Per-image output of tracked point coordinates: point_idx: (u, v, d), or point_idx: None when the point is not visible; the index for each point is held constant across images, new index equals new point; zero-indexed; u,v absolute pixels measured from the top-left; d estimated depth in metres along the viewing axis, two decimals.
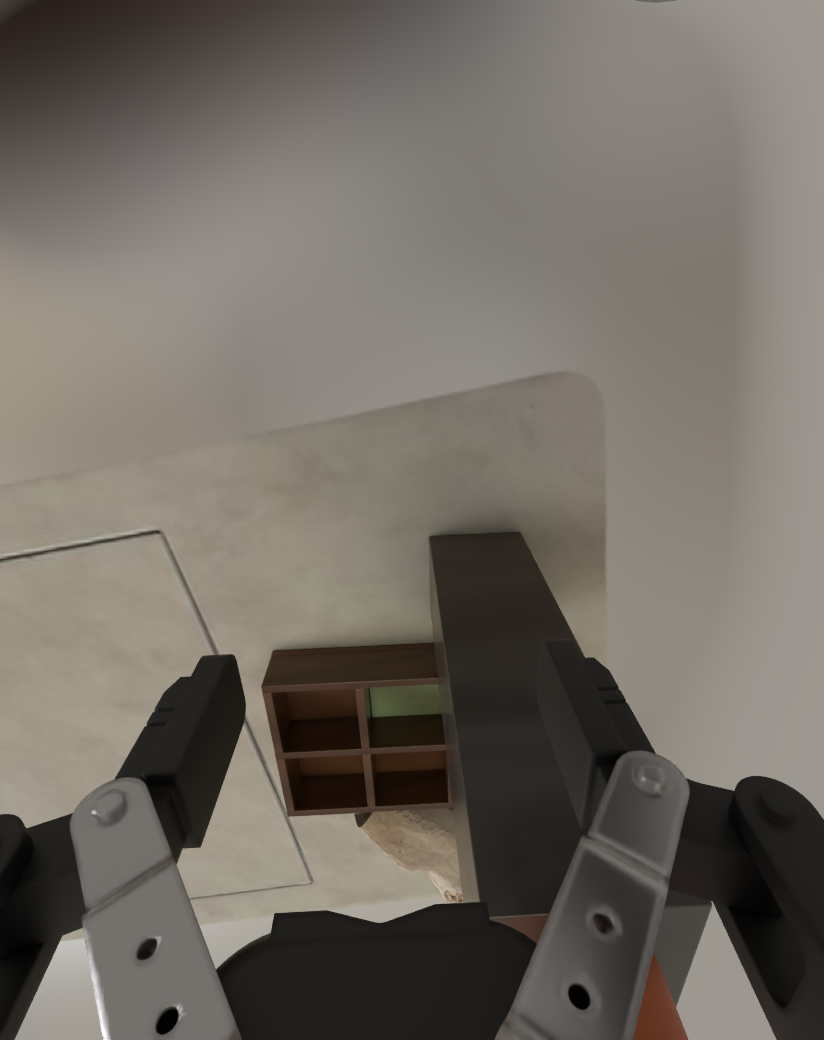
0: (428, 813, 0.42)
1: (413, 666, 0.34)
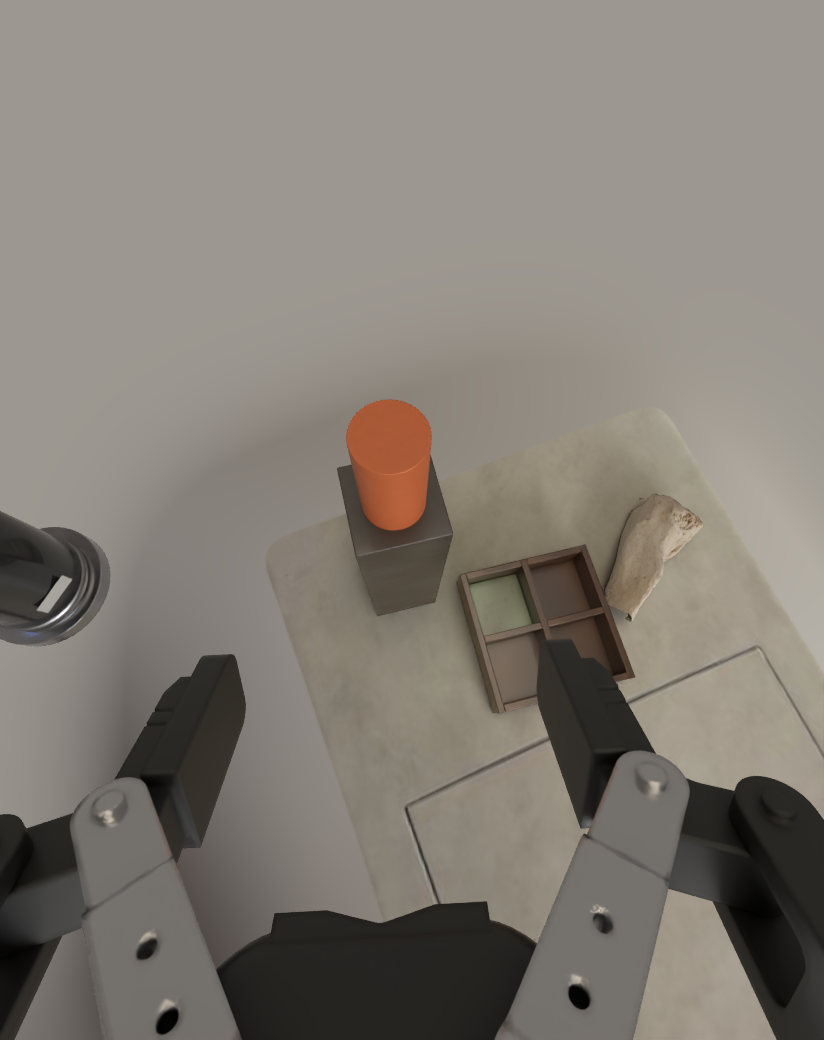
0: (615, 562, 0.51)
1: (466, 604, 0.49)
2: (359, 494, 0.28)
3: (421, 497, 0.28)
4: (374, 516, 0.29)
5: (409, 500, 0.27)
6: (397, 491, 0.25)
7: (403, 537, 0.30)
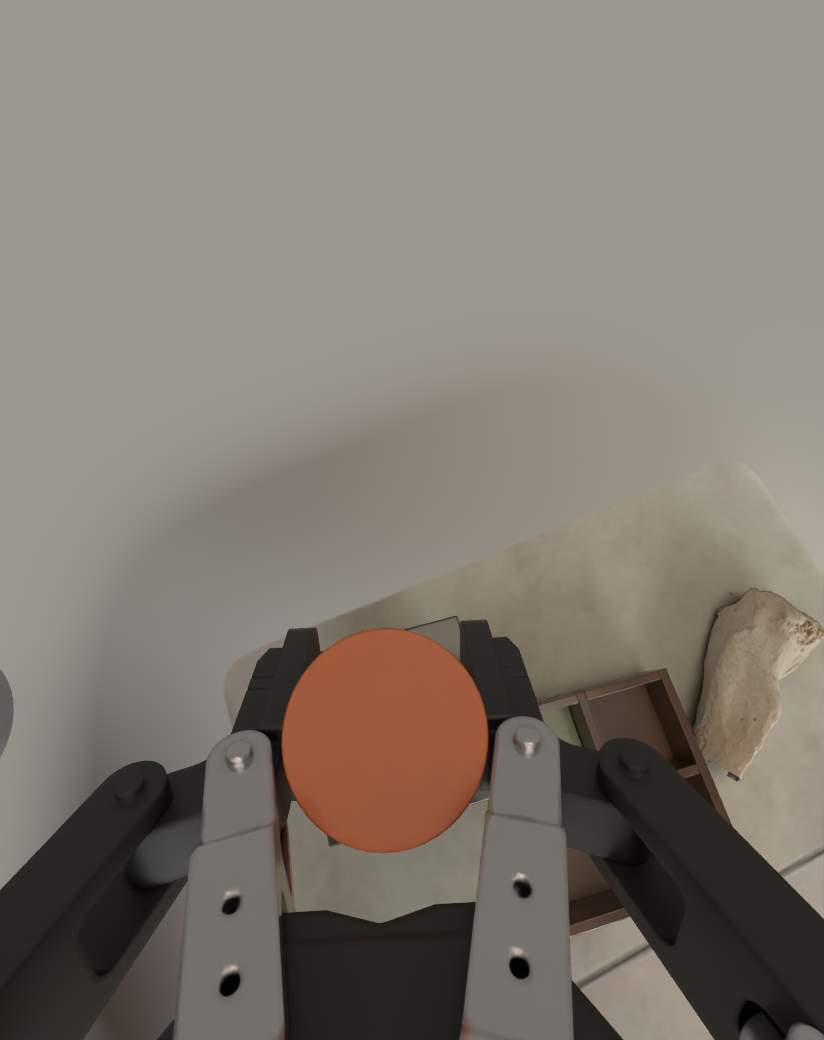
0: (705, 688, 0.37)
1: None
2: None
3: None
4: None
5: None
6: None
7: None
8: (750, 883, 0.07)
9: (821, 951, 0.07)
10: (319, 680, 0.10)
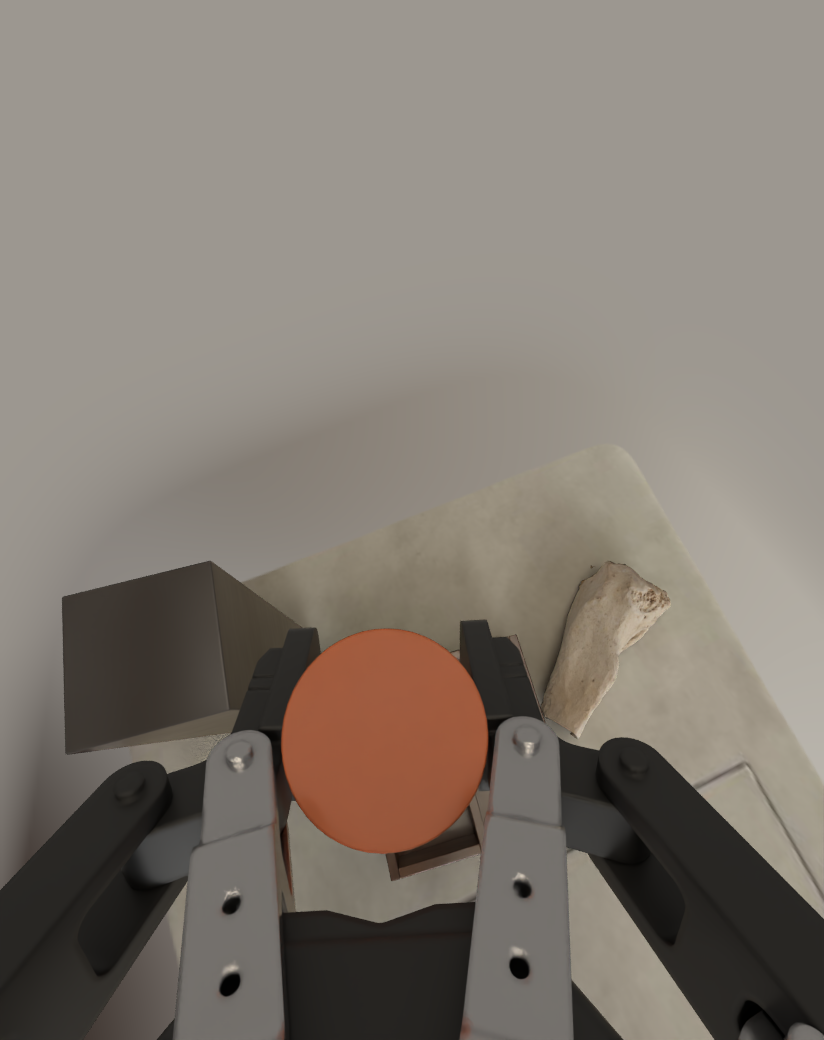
0: None
1: None
2: None
3: None
4: None
5: None
6: None
7: (148, 718, 0.19)
8: (750, 884, 0.07)
9: (821, 951, 0.07)
10: (319, 680, 0.10)
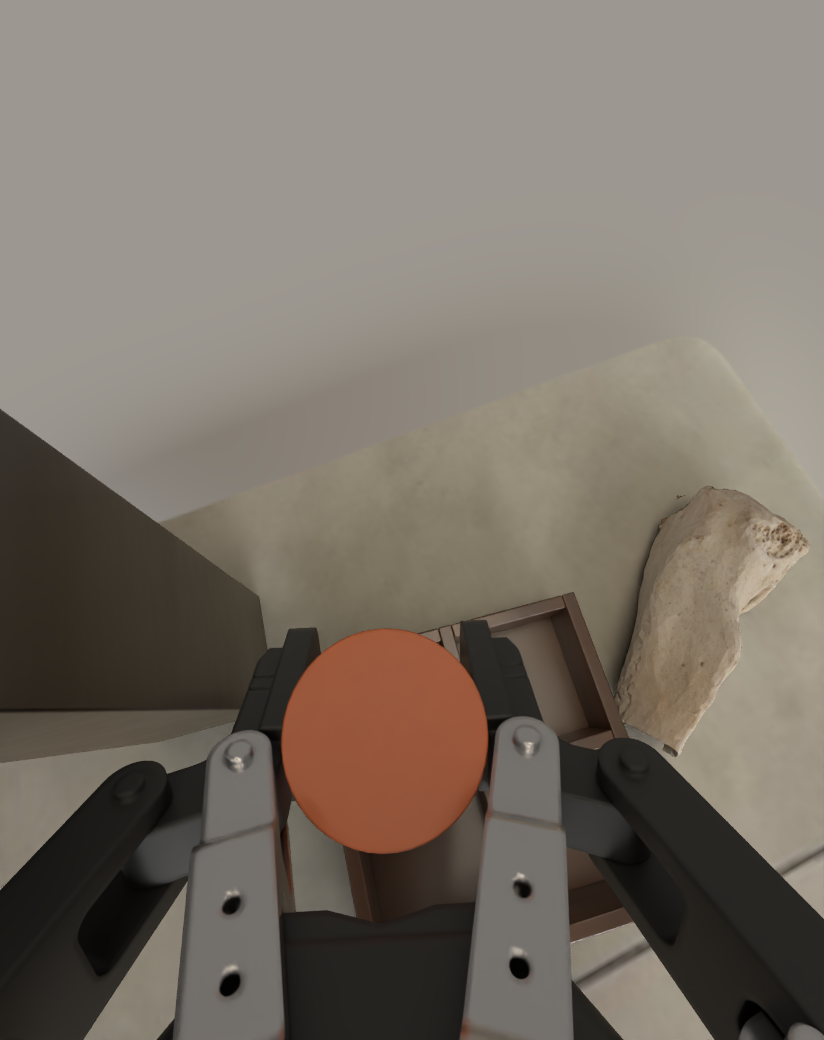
0: (636, 625, 0.25)
1: None
2: None
3: None
4: None
5: None
6: None
7: None
8: (750, 883, 0.07)
9: (821, 950, 0.07)
10: (319, 680, 0.10)
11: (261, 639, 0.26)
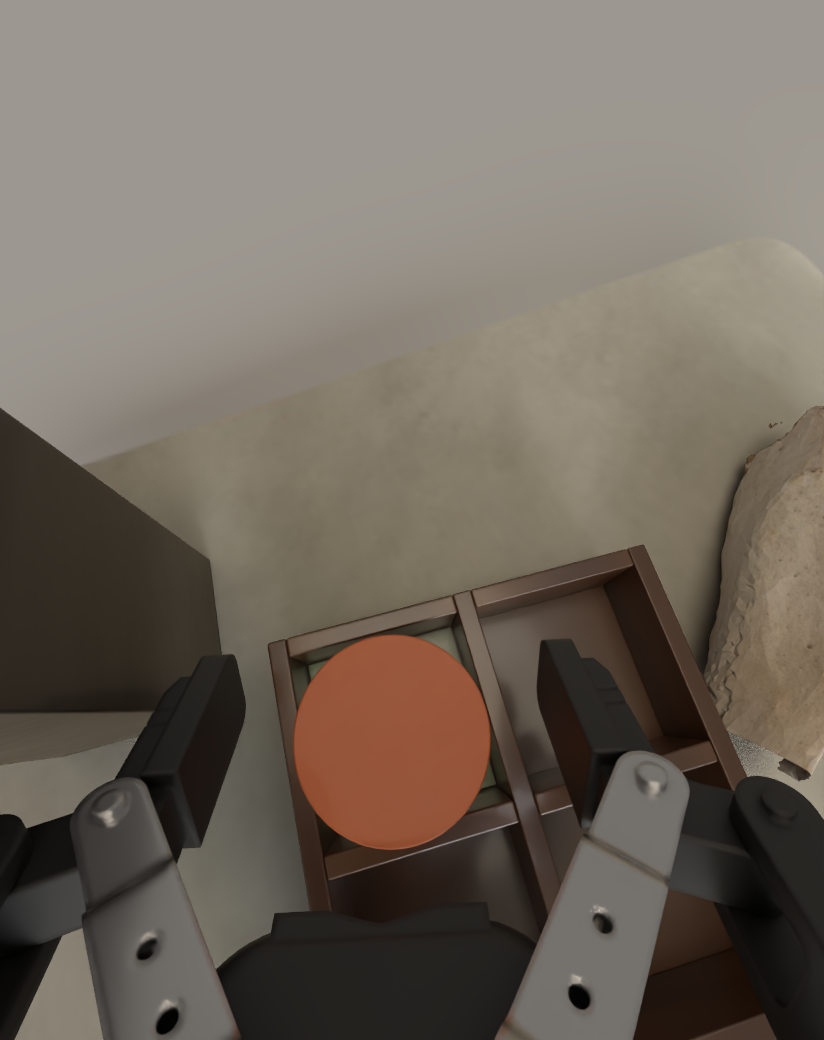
0: (727, 594, 0.18)
1: None
2: None
3: None
4: None
5: None
6: None
7: None
8: None
9: None
10: (328, 684, 0.11)
11: (208, 615, 0.19)
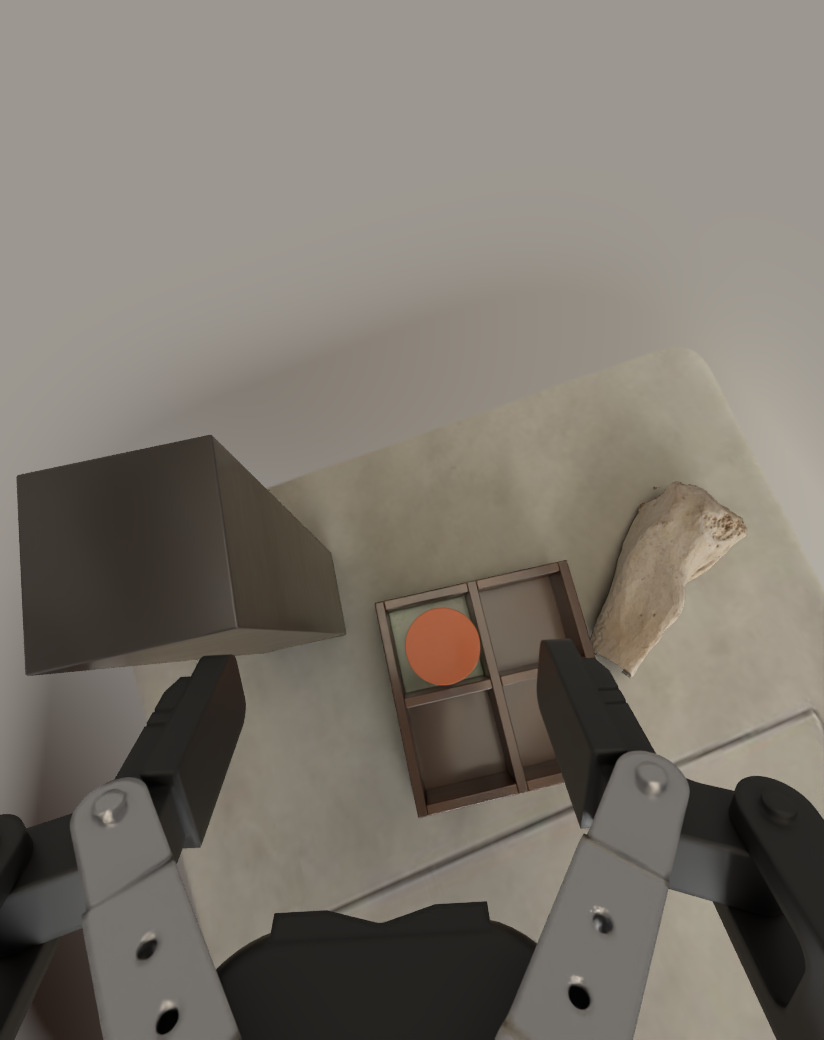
0: (612, 585, 0.34)
1: None
2: None
3: None
4: None
5: None
6: None
7: (131, 634, 0.14)
8: None
9: None
10: (418, 626, 0.27)
11: (335, 584, 0.36)
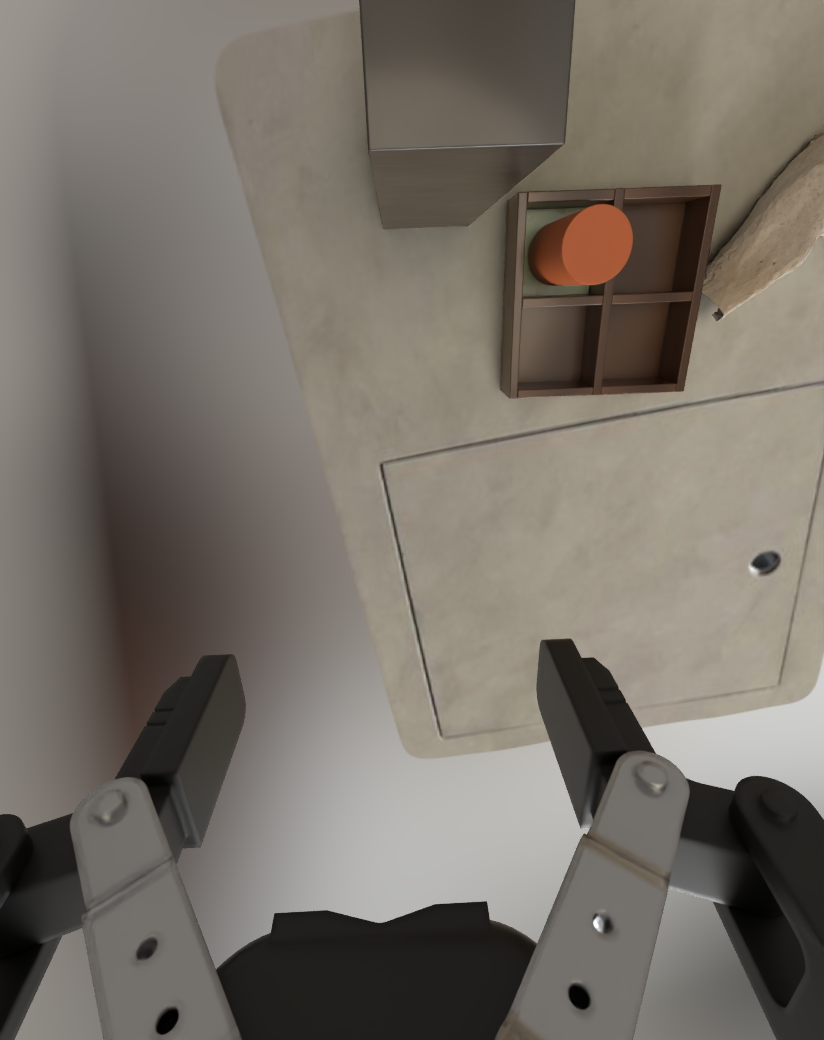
0: (744, 226, 0.34)
1: (512, 244, 0.34)
2: (538, 259, 0.33)
3: None
4: (540, 276, 0.35)
5: None
6: None
7: (468, 127, 0.15)
8: None
9: None
10: (581, 220, 0.28)
11: None
